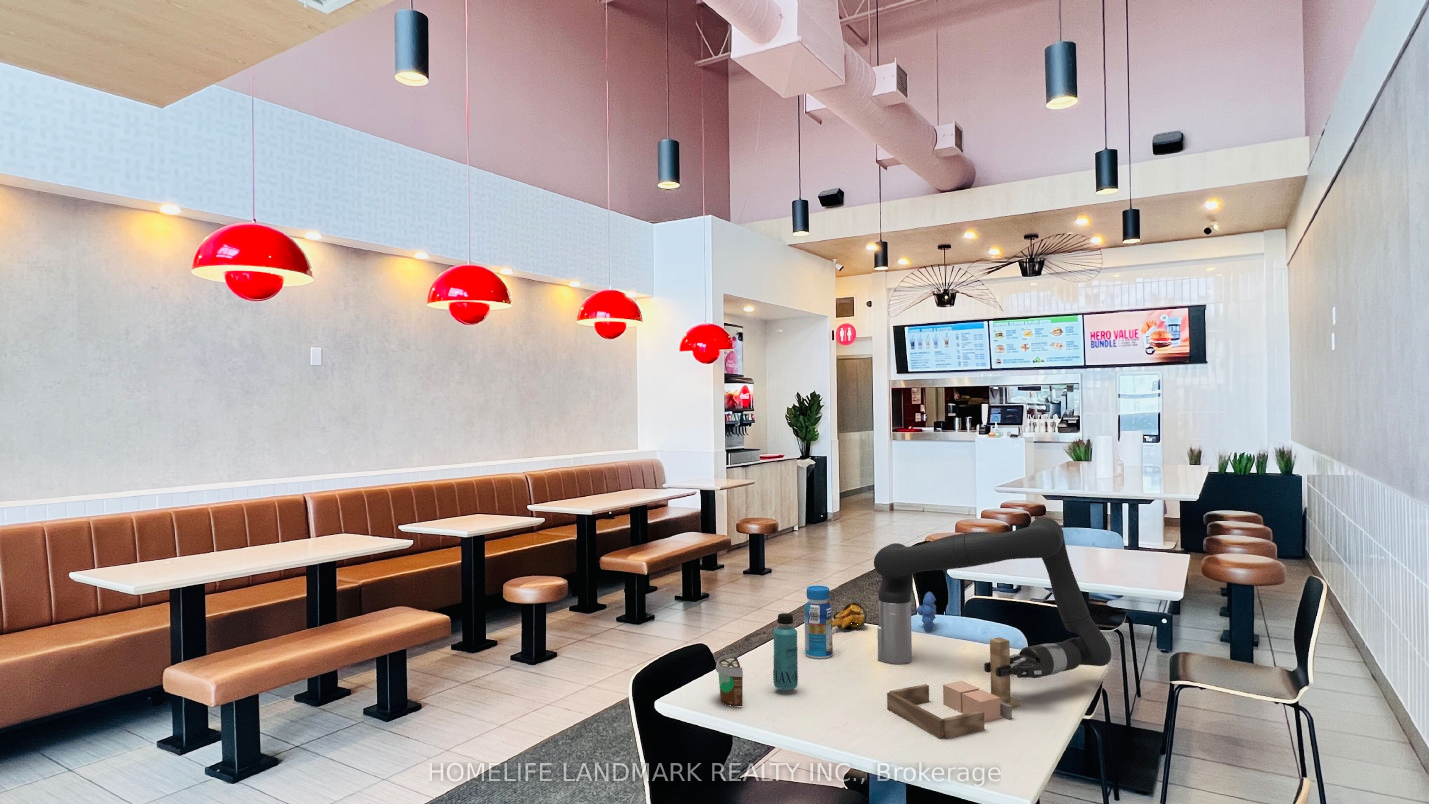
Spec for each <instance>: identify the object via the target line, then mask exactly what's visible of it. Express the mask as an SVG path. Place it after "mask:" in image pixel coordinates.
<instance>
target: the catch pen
mask: <svg viewBox="0 0 1429 804" xmlns="http://www.w3.org/2000/svg"><path fill="white" fill-rule="evenodd" d="M929 702H930V685H928V684H926V683H925V684H924V683H923V684H920V685H915V686H910V687H904V688H899V689H898V688H897V689H894V690H889V692H886V707H887V710H888V711H890V712H891V713H893V714H895V715H897V716H898V717H901V718H903V719H904V720H906V721H908V722H909V723H910V724H913V725H915V726H916V727H918V728H920V729H922V730H923V731H925V732H927V733H929V734H931V735H933V736H934V737H936V739H937V738H938V739H940V740H941V739H945V740H947V739H951V738H952V739H953V738H956V737H960V736H965V735H969V734H973V733H978V732H982V731H985V722H984V712H983V711H976V712H971V713H967V714H963V713H962V714H958V715H954V716H950V717H945V718H941V717H939V716H937V715H935V714H933V713H931V712H930V711H928V710H926V709H924V708H922V707H921V706H918V705H919V704H925V703H926V704H927V703H929Z"/></svg>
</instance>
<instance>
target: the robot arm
mask: <svg viewBox="0 0 1429 804" xmlns="http://www.w3.org/2000/svg"><path fill="white" fill-rule="evenodd" d="M1019 559H1021V560H1022V559H1023V560H1024V559H1041V560H1042V561H1043V565H1044V566H1045V569H1046V572H1047V575H1048V578H1049V581H1050V586H1051V589H1052V590H1051V591H1052V594H1053V599H1054V602H1055V605H1056V608H1057V611H1058V613H1059V616H1060V618H1061V621H1062V623H1063V625H1064V627H1065V630H1067V631H1068V632H1071V633H1073V634H1076V635H1077V636H1078V637H1077V636H1076V637H1070V638H1068V639H1066V640H1064V641H1060V642H1054V643H1043V644H1036V645H1031V646H1025V647H1023V648H1022V649H1021V651H1020V652H1018V653H1016V654H1012V655H1010V665H1009V666H1008V665H1006V666H1001V667H996V676H997V677H1002V676H1008V675H1010V677H1015V676H1016V677H1017V678H1018V679H1026V678H1029V679H1030V678H1032V679H1037V678H1042V677H1048V676H1053V675H1056V674H1059V673H1062V672H1067V671H1072V670H1074V669H1076V668H1078V667H1079V666H1092V667H1093V666H1094V667H1104V666H1107V665H1108V664H1109V663H1110V662H1111V659H1112V649H1111V645H1110V643H1109V641H1108V639H1107V638H1106V636H1105V634H1103V632H1102V631H1101V629H1100V628H1099V626H1098V624H1096V622H1095V621H1094V620H1093V619H1092V617H1091V613H1090V610H1089V608H1088V606H1087V603H1086V601H1085V598H1084V596H1083V594H1082V591H1081V589H1080V586H1079V584H1078V581H1077V579H1076V577H1075V576H1076V575H1075V573H1074V571H1073V568H1072V564H1071V562H1070V559H1069V555H1068V549H1067V546H1066V542H1065V536H1064V530H1063V528H1062V526H1061V525H1060V524H1059V522H1057V520H1054V519H1053V518H1051V517H1045V516H1044V517H1043V516H1042V517H1038V518H1036V519H1034V520H1033V521H1032V522H1031V523H1030V524H1029V525H1028V526H1026V527H1023V528H1020V529H1014V530H1011V531H1006V532H987V531H986V532H985V531H970V532H965V533H964V532H963V533H959V534H952V535H951V534H950V535H947V536H944V537H941V538H937V539H934V540H931V541H928V542H926V543H923V544H919V545H911V546H910V545H909V546H906V545H904V544H903V543H902V544H901V543H898V542H897V543H896V542H894V543H891V544H888V545H885V546H884V547H882V548H880V549H879V550H878V552H877V553H876V554H875V556H874V559H873V566H874V569H875V571H876V572H877V573H878V574H879V576H881V583H880V587H879V589H878V626H877V661H880V662H884V663H888V664H893V665H894V664H895V665H901V664H902V665H903V664H904V665H905V664H908V663H911V662H912V660H913V657H912V656H913V652H912V651H913V648H912V646H913V644H912V643H913V642H912V593H913V592H912V591H913V586H914V574H916V573H921V572H926V571H927V572H928V571H944V570H945V571H946V570H954V569H965V568H971V567H977V566H983V565H989V564H994V563H999V562H1003V561H1008V560H1019ZM983 666H984V667H983V669H984V672H985V673H991V666H990V661H989V662H984V665H983Z"/></svg>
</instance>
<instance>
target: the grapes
mask: <svg viewBox="0 0 1429 804" xmlns="http://www.w3.org/2000/svg"><path fill="white" fill-rule="evenodd" d="M936 600H937V599H936V597H935V595H934V594H933V593H932V592H931V591H927V592H926V593H925V595H924V598H923V600H922V602H923V603H922V605H919V606H918V607H916V609H915V611H916V614H918V615H919V616H921V617H922V619H921V621H922V622H923V624H922V627H923V628H924V630H925V631H927V632H928V631H930V630H931V629H932V628H933V627H935V623H934V621H935V620H936V618H937V617H935V616H936V614H937V610H936V608H937V606H936V604H935V601H936Z"/></svg>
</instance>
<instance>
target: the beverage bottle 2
mask: <svg viewBox="0 0 1429 804" xmlns="http://www.w3.org/2000/svg"><path fill="white" fill-rule="evenodd" d="M806 587H807V588H806V598H807V599H806V600H808V601H807V603H805V607H804V613H805V615H804V617H803V623H804V646H805V647H804V648H805V649H804V653H805V656H806V657H808V658H812V659H817V660H818V659H819V660H822V659H829V658H831V657H832V656H833V652H834V650H833V628H832V623H833V615H832V613H833V609H832V606H831V604H830V602H829V601H828V600H829V599H830V587H828V586H825V585H818V584H817V585H809V586H806Z"/></svg>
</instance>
